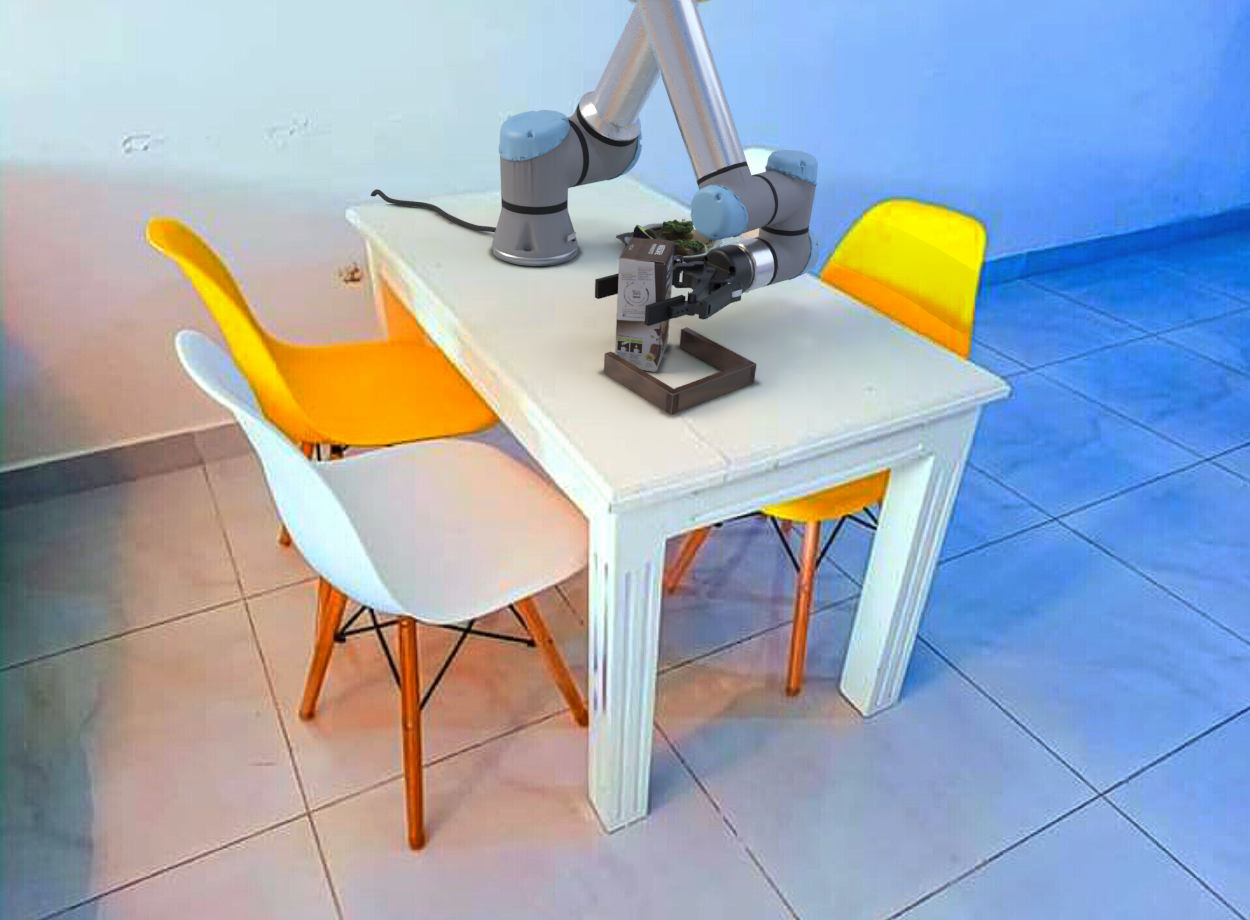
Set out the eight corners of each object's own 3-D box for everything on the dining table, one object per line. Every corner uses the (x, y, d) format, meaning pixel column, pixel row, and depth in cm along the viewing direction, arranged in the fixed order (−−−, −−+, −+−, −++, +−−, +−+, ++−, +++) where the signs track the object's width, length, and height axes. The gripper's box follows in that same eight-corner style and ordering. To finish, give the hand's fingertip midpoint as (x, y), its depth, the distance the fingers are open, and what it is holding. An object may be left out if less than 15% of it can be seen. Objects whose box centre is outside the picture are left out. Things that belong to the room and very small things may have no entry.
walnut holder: (603, 372, 127) (604, 353, 125) (685, 345, 136) (686, 326, 134) (671, 415, 118) (672, 394, 116) (754, 382, 127) (756, 363, 125)
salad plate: (654, 222, 182) (655, 199, 179) (737, 240, 175) (739, 216, 173) (606, 250, 167) (607, 225, 165) (694, 271, 161) (697, 246, 158)
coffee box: (657, 373, 128) (665, 262, 119) (613, 366, 129) (617, 257, 120) (669, 345, 135) (676, 239, 126) (626, 339, 136) (631, 234, 127)
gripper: (789, 318, 132) (674, 357, 119) (683, 269, 146) (571, 300, 134) (796, 268, 128) (678, 304, 115) (686, 223, 142) (571, 251, 130)
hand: (621, 302), depth 125 cm, fingers closed on coffee box, 10 cm apart
